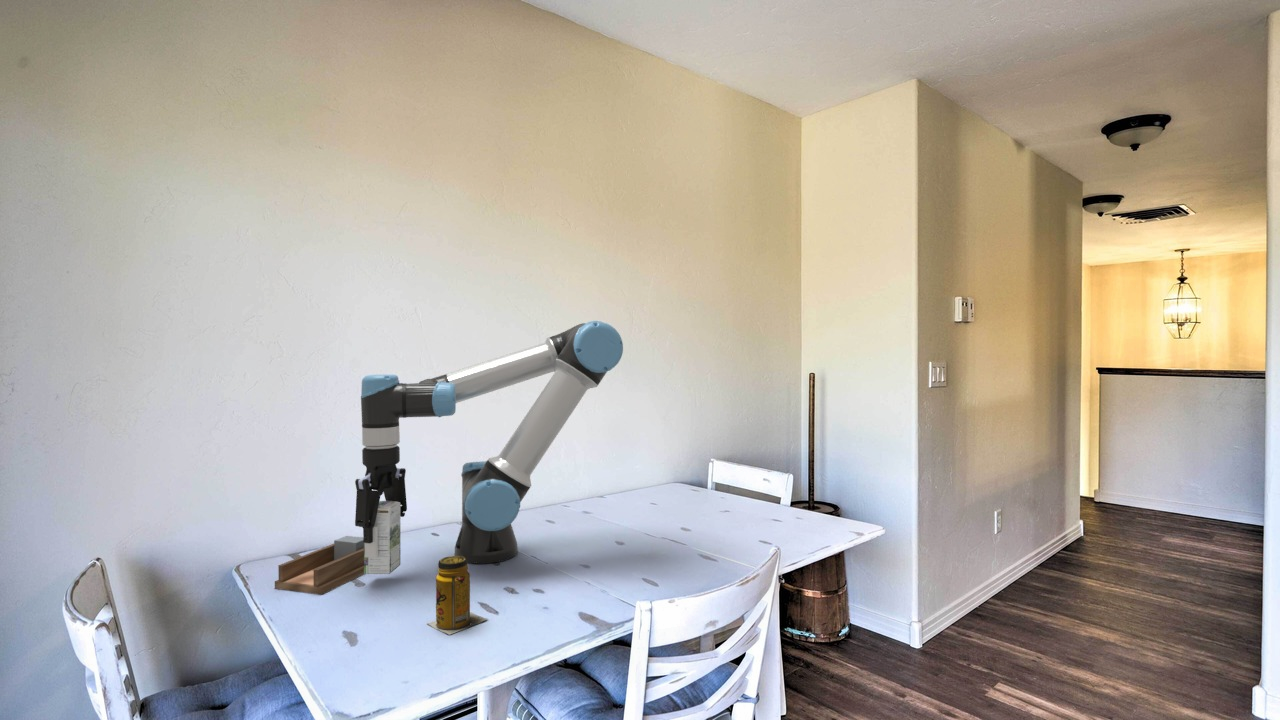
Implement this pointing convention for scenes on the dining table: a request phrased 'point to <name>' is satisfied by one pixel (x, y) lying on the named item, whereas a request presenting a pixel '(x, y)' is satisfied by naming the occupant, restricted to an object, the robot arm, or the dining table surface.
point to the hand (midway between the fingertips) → (382, 551)
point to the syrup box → (386, 540)
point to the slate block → (347, 546)
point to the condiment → (453, 596)
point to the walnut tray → (320, 571)
